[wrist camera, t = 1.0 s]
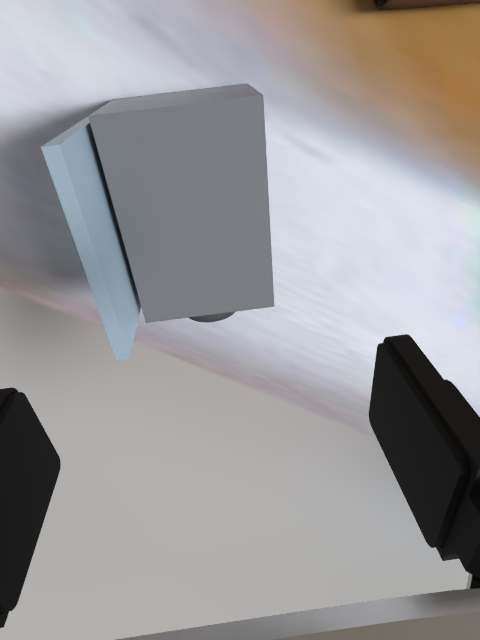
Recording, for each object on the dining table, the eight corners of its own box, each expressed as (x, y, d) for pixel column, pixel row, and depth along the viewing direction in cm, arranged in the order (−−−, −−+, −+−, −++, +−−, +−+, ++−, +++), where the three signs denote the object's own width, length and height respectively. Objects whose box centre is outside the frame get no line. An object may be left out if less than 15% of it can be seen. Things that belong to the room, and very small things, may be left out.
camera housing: (113, 99, 26) (88, 115, 20) (247, 83, 27) (262, 95, 21) (158, 289, 35) (150, 340, 29) (261, 276, 35) (275, 324, 29)
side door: (94, 111, 26) (40, 147, 17) (106, 110, 26) (59, 144, 17) (138, 273, 33) (116, 360, 24) (148, 272, 33) (129, 358, 24)
